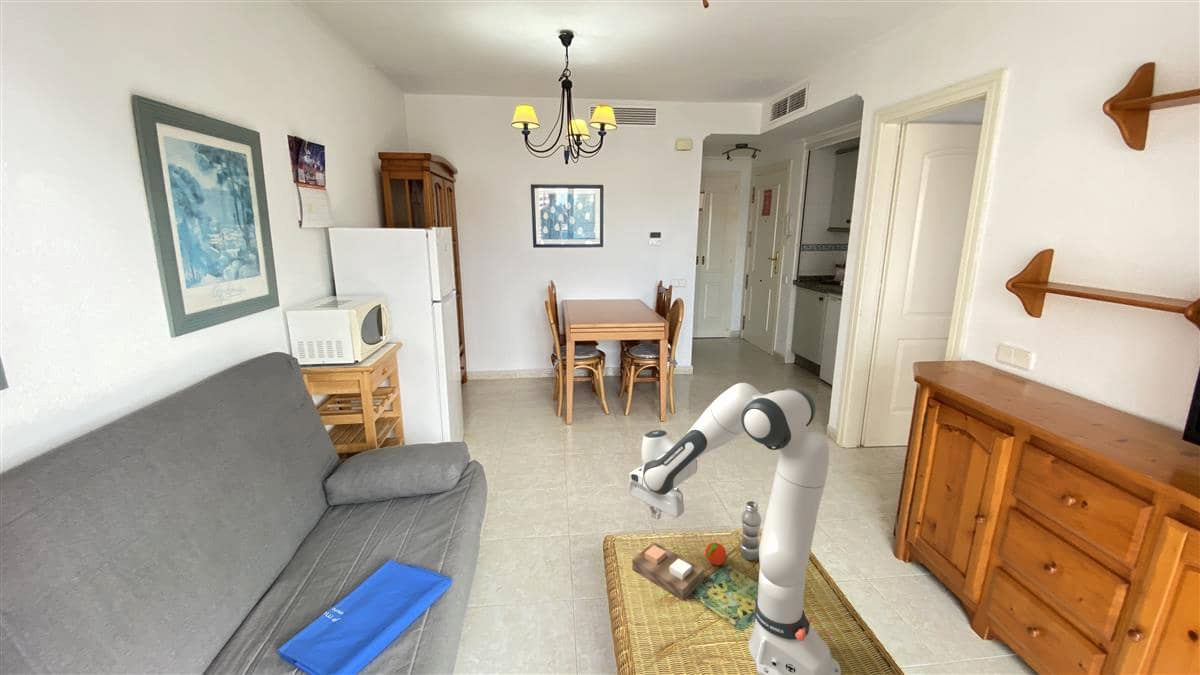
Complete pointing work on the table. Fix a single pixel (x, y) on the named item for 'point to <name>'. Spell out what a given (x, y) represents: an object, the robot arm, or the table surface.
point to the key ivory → (680, 569)
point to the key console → (663, 577)
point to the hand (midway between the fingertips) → (655, 517)
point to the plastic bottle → (750, 531)
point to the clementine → (715, 553)
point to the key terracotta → (655, 555)
